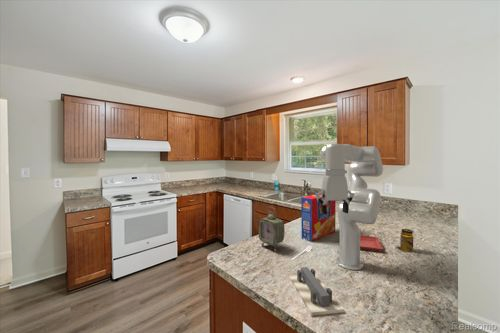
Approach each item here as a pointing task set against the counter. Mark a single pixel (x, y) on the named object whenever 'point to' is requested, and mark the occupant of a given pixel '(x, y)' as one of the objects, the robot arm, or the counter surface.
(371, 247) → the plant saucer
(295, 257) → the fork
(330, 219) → the pasta box
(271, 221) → the tabletop clock
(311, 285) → the bar
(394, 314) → the counter surface
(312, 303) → the clip board
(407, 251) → the condiment
